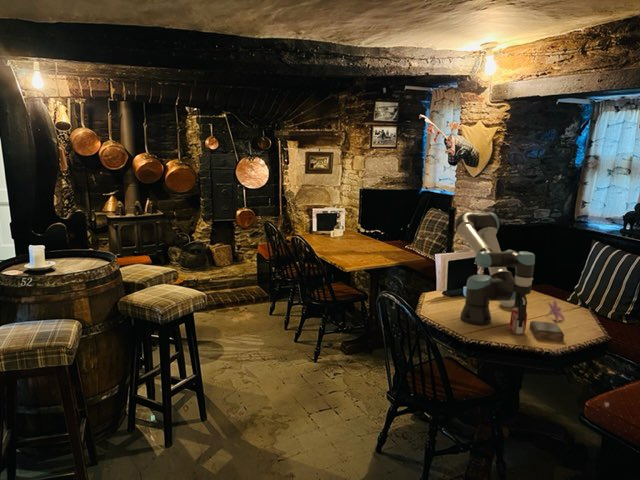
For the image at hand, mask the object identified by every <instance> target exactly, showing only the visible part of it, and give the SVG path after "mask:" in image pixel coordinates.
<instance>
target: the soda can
mask: <svg viewBox="0 0 640 480" xmlns="http://www.w3.org/2000/svg"><path fill="white" fill-rule="evenodd" d="M518 308H519V307H514V306H513V307H512V310H511V313H510V320H509V322H510V323H509V331H510V332H511V333H512V334H514V335H518V336H521V335H523V334H525V333H526V329H527V328H526V327H527V321H528V313H527V311H526V317H525V321H524V323H523V331H522V333H516V327H517V320H516V319H518Z"/></svg>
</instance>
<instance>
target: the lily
mask: <svg viewBox="0 0 640 480" xmlns="http://www.w3.org/2000/svg"><path fill="white" fill-rule="evenodd" d="M546 303H547V306H548V307H549V308H550V310H549V312H548V314H547V315H545V318H546V317H547V316H549V315H551V316H554V318H555V323H558V321H559V319H561V320H563V321H566V319H565V316H564V315H563V313H562V307H560V306H559V305H558V302H557V300H556V299H555V298H553V302H552V304H551V302H546Z"/></svg>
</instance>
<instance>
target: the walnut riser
mask: <svg viewBox="0 0 640 480" xmlns="http://www.w3.org/2000/svg"><path fill="white" fill-rule="evenodd" d="M528 329H529V331H530V332H531V334H532V336H533V338H534V339H535V340H542V341H543V340H544V341H555V342H564V340H565V334H564V332H563V330H562V329H561V328H560V326H559V325H558V324H557V322H547V321H536V320H531V321H530V322H529V328H528Z"/></svg>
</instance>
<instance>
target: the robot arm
mask: <svg viewBox="0 0 640 480" xmlns="http://www.w3.org/2000/svg"><path fill="white" fill-rule="evenodd" d="M454 228H455V231H456V232H457V234H458V236H460V237H462V238H463V239H464V241H465V242H466V243H467V244H468V246H469V247H470V249H471V250H472V252H473V253H474V254H475V262H476V263H475V264H476V266H478V267H480V268H488V270H489V275H488V274H473V275H471V276H469V277H468V278H467V280H466V281H467V282H466V289H465V290H466V291H465V300H464V305H463V308H462V310H461V312H460V315H459V316H460V317H459V318H460V320H461V321H463V322H464V323H467V324H470V325H475V326H476V325H477V326H486V325H489V324H491V323H492V316H491V315H492V314H491V310H490V302H499V301H510V300H515V303H514V306H513V308H514V307H519V308H518V319H516V320H517V327H516V333H522V331H523V323H524V321H525V317H526V312H527V307H528V306H527V305H528V300H527V295H530V294H531V292H532V283H533V281H534V278H533V276H534V271H535V270H534V269H535V263H536V261H535V260H536V255H535V254H534V253H533V252H529V251H518V252H517V250H512V249H507V250H504V251H502V250H501V248H500V247H501V246H500V244H499V241H498V238H497V234H498V231H499V228H500V220H499V218H498V215H496V213H494V212H492V211H491V212H488V211H481V212H480V211H479V212H477V211H472V212H471V211H465V212H464V213H461V214H459V216H458V217H457V218H456V219H455V222H454ZM507 268H513V269H515V273H514V274H515V275H514V277H513V273H512V272H511V271H509V270H508V269H507Z"/></svg>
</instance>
